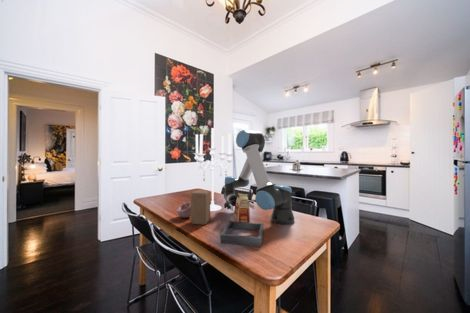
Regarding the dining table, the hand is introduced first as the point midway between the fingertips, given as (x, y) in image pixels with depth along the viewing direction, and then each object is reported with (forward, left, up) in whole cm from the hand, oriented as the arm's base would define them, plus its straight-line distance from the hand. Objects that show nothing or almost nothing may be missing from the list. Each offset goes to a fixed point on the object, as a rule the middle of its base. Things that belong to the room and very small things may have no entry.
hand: (243, 207), depth 118 cm
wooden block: (+28, 0, -11) cm, 30 cm away
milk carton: (+1, -2, -11) cm, 11 cm away
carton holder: (-3, +15, -11) cm, 19 cm away
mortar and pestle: (+42, -7, -11) cm, 44 cm away
